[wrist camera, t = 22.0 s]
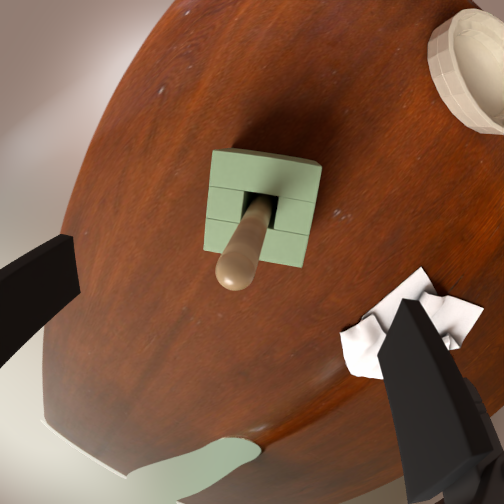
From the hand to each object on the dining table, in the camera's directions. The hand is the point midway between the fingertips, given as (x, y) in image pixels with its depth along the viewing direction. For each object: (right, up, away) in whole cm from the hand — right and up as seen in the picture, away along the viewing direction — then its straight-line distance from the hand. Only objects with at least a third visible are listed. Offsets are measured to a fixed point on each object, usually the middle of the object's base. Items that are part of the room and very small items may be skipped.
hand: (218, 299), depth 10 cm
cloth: (+24, -10, +24) cm, 36 cm away
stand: (+3, +8, +20) cm, 21 cm away
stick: (+3, +8, +20) cm, 21 cm away
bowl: (+27, +22, +10) cm, 36 cm away
